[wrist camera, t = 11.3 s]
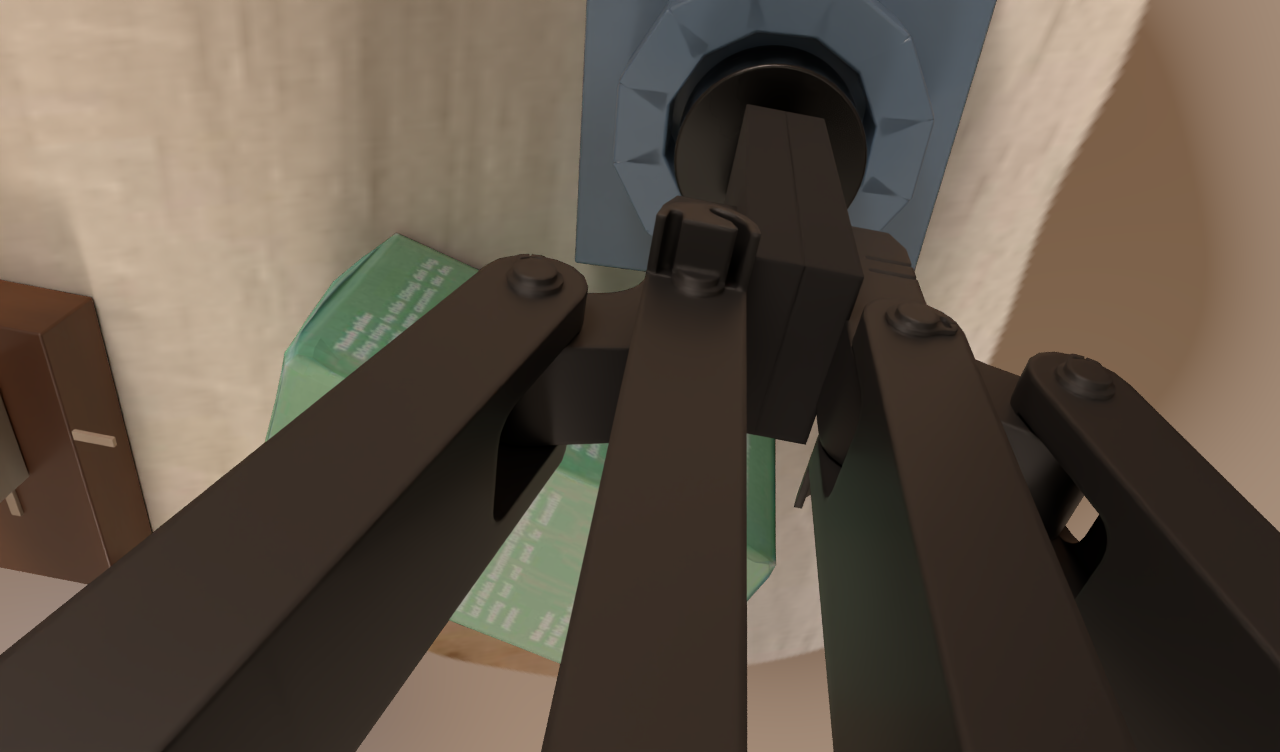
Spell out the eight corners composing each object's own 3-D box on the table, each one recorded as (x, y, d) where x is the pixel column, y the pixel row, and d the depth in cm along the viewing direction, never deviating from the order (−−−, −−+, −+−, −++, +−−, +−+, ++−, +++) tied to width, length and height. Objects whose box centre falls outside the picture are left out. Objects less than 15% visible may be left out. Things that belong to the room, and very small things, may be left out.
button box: (893, 269, 24) (915, 340, 21) (587, 230, 24) (562, 294, 21) (993, -82, 19) (1045, -63, 16) (606, -124, 19) (576, -112, 16)
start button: (836, 229, 20) (843, 262, 18) (670, 209, 20) (664, 239, 18) (877, 55, 18) (889, 76, 16) (690, 34, 18) (684, 52, 16)
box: (383, 219, 25) (263, 354, 19) (779, 393, 27) (788, 566, 21) (334, 394, 29) (223, 552, 23) (682, 534, 31) (665, 713, 25)
